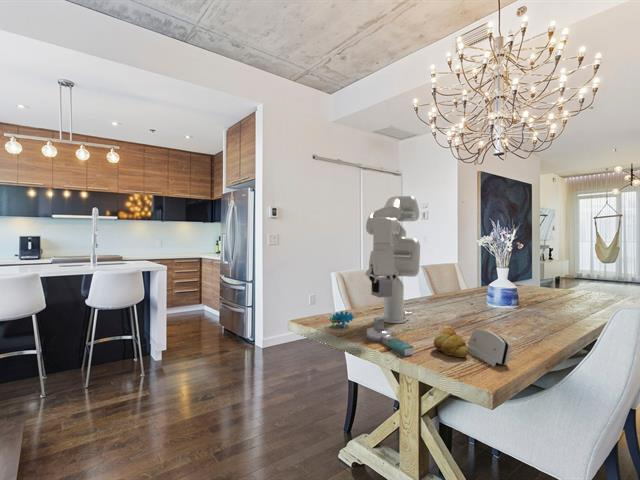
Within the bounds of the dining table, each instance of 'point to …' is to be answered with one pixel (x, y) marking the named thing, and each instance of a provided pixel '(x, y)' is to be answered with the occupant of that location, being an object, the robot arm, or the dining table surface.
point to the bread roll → (451, 343)
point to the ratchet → (388, 338)
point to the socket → (383, 287)
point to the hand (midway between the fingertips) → (382, 291)
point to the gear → (341, 318)
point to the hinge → (489, 347)
